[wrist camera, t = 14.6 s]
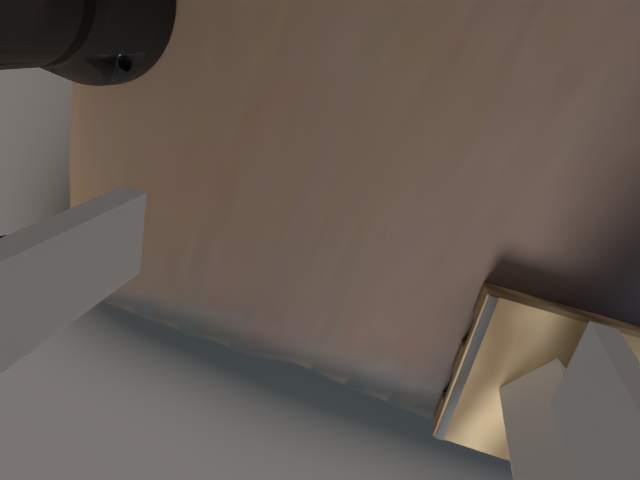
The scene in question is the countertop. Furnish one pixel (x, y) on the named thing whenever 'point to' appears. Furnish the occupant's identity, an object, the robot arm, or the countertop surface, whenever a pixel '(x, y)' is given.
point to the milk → (535, 425)
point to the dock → (508, 361)
